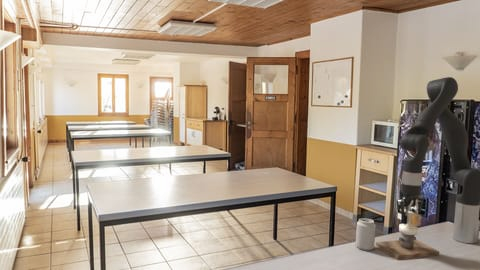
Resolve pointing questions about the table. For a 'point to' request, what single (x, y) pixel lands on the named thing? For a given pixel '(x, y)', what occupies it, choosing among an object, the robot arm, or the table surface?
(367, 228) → the can
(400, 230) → the twist knob
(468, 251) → the table surface
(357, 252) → the table surface
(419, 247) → the lock base
